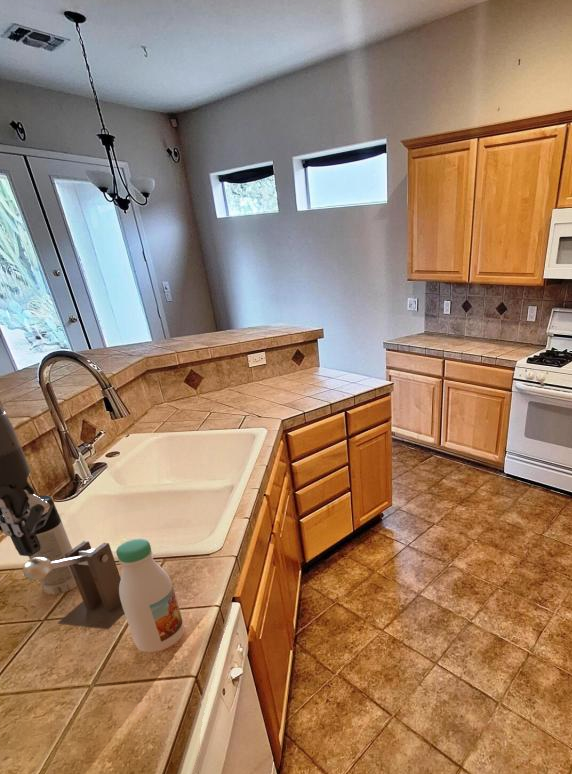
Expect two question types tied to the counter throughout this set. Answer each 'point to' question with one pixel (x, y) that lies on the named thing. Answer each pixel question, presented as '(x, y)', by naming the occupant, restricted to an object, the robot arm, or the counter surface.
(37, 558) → the tap lever
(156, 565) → the milk bottle
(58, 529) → the spray can
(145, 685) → the counter surface
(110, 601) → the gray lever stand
